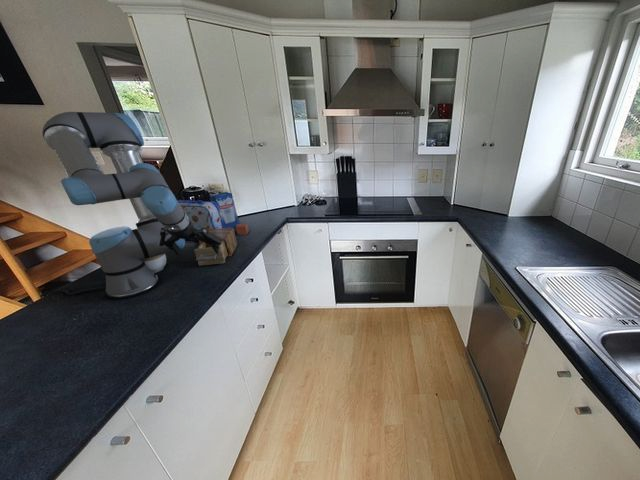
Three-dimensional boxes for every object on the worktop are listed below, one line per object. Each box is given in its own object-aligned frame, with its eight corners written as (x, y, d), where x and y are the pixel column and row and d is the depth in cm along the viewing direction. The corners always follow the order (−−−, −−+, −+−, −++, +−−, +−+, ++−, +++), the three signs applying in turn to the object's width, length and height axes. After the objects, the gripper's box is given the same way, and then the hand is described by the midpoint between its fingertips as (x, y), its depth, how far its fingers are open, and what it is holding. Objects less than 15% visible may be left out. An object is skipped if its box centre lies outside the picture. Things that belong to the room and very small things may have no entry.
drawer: (222, 268, 119) (217, 252, 115) (195, 271, 116) (189, 254, 113) (231, 250, 135) (227, 236, 131) (208, 253, 132) (203, 238, 129)
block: (237, 234, 156) (235, 226, 154) (239, 231, 160) (237, 223, 158) (247, 234, 157) (245, 226, 155) (248, 231, 161) (246, 223, 159)
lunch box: (231, 235, 155) (221, 197, 145) (220, 242, 145) (208, 202, 136) (185, 233, 157) (173, 195, 147) (171, 240, 147) (157, 200, 138)
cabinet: (231, 256, 131) (226, 237, 127) (204, 258, 128) (198, 240, 124) (237, 244, 144) (233, 227, 140) (213, 246, 141) (207, 229, 137)
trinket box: (153, 277, 113) (145, 257, 109) (132, 274, 115) (123, 254, 111) (176, 265, 122) (169, 246, 118) (156, 263, 124) (148, 244, 120)
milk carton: (223, 229, 163) (215, 196, 155) (218, 227, 166) (209, 195, 157) (239, 224, 171) (231, 193, 162) (233, 223, 174) (225, 191, 165)
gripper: (129, 233, 87) (160, 260, 105) (217, 232, 94) (232, 258, 112) (134, 213, 90) (163, 243, 108) (219, 214, 97) (233, 242, 115)
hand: (198, 251), depth 110 cm, fingers open, 13 cm apart
